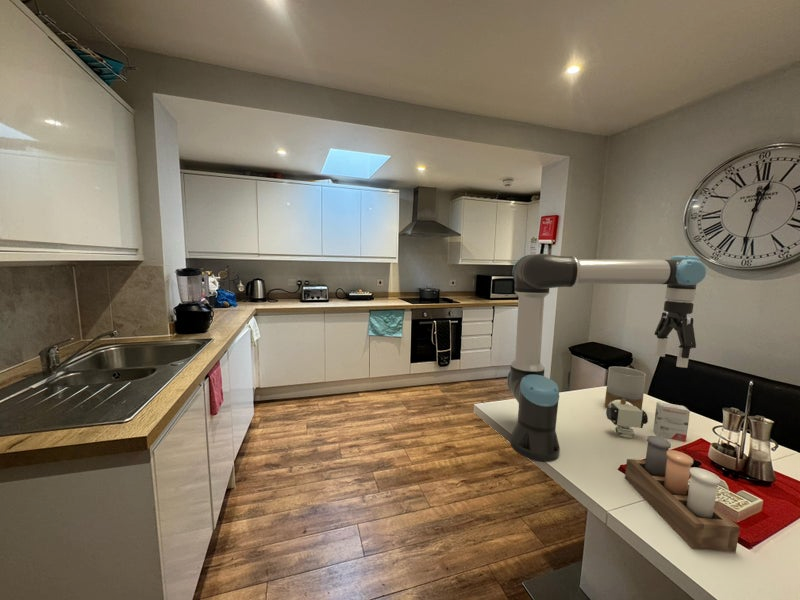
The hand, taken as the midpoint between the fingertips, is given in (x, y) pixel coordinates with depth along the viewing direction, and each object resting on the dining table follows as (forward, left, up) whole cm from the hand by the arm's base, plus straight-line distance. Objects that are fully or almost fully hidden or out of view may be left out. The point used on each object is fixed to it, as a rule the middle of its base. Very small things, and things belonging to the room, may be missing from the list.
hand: (670, 361), depth 110 cm
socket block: (-22, -35, -29) cm, 51 cm away
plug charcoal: (-22, -28, -24) cm, 43 cm away
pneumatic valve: (-11, +2, -30) cm, 32 cm away
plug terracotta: (-22, -35, -24) cm, 48 cm away
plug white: (-22, -42, -24) cm, 54 cm away
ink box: (+6, +4, -30) cm, 30 cm away
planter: (+1, +23, -30) cm, 38 cm away
